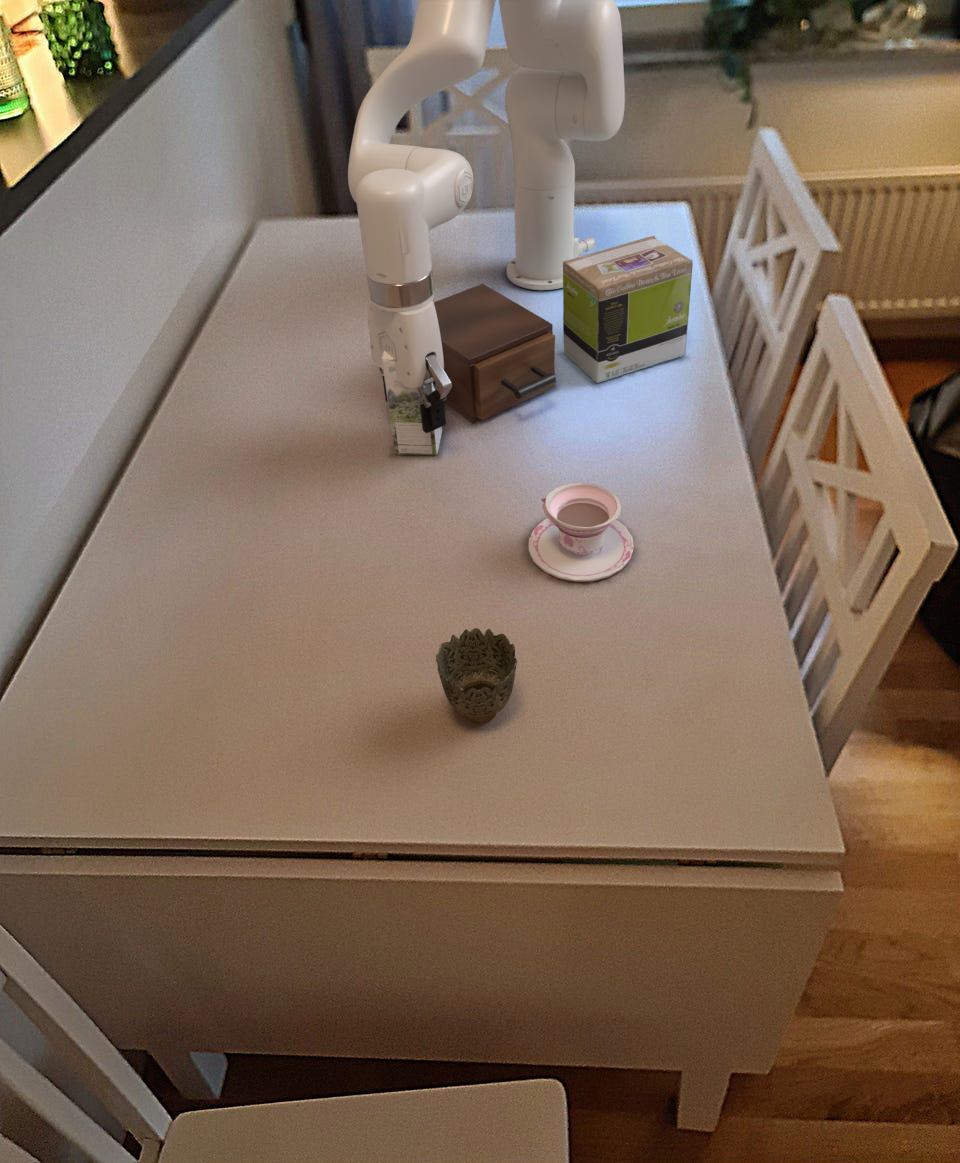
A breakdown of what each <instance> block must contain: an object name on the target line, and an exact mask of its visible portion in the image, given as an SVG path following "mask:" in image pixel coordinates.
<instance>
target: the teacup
mask: <svg viewBox="0 0 960 1163" xmlns="http://www.w3.org/2000/svg"><path fill="white" fill-rule="evenodd" d="M541 502H542V509H543V512H544V515H545V516H546V518H545V519H543V520H542V521H540V522H539V523H538V524H537V525H536V526H535V527H534V528H533V529H532V531H531V533H530V535H529V538H528V554H529V556H530V557H531V559H532V561H533V563H534V564H535V566H537V567H538V568H539V569H541V570H542V571H543V572H544V573H546V574H548V575H550V576H552V577H555V578H557V579H559V580H564V581H569V582H575V583H577V582H596V581H600V580H603V579H606V578H610V577H611V576H614V575H615V574H617V573H619V572H621V571H622V570H623V569H624V568H625V567H627V565H628V563H630V561H631V559H632V556H633V553H634V550H635V546H634V539H633V535H632V534H631V533H630V531H629V529H628V528H627V527H626V526H625V525H624V524H623V523H621V522H620V521H619V520H617V519H618V518H619V517H620V515H621V513H622V502H621V501H620V499H619V498H618V496H617V495H616V494H614V492H612V491H611V490H609V489H607V488H605V487H603V486H600V485H597V484H593V483H587V482H575V483H567V484H563V485H560V486H558V487H556V488H553V490H551V491H550V492H549V493H548V494H547V496H546V497H545V498H541Z"/></svg>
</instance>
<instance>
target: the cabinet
mask: <svg viewBox="0 0 960 1163" xmlns="http://www.w3.org/2000/svg"><path fill="white" fill-rule="evenodd" d="M433 302H434V306H435V310H436V314H437V319H438V324H439V329H440V336H441V342H442V349H443V360H444V371H445V373H446V375H447V376H448V378H449V379H450V381H451V383H452V388H451V390H450V392H449V396H448V397H446V400H444V404H446V405H447V406H448V407H450V408H451V409H452V410H453V411H455V412H457V414H459V415H460V416H462V417H463V418H465V419H466V420H467V421H468V422H470V424H476V423H478V422H480V421H482V420H481V419H479V418H478V417H477V416H476V401H475V385H474V369H473V365H474V363H476V362H479V361H481V360H484V359H486V358H488V357H491V356H493V355H495V354H498V353H500V352H502V351H505V350H507V349H509V348H512V347H514V346H516V345H519V344H521V343H523V342H526V341H528V340H530V339H533V338H535V337H537V336H538V337H540V336H542V335H544V334H547V333H549V332H550V333H551V334H553V333H554V331H553V330H554V329H553V328H554V327H553V326H554V325H553V323H551V322H550V321H548V320H546V319H544V318H543V317H541V316H539V315H537V314H536V313H534V312H533V311H531V310H529V309H527V308H526V307H525V306H522V305H520V304H519V303H517V302H515V301H513V300H512V299H510V298H508V297H507V296H505V295H503V294H502V293H500V292H499V291H496V290H495V289H493V288H491V287H490V286H488V285H486V284H485V283H480V284H478V285H475V286H472V287H470V288H466V289H464V290H462V291H460V292H457V293H454V294H451V295H449V296H447V297H444V298H441V299H439V300H436V301H433ZM553 335H554V334H553Z"/></svg>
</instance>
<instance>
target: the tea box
mask: <svg viewBox="0 0 960 1163" xmlns="http://www.w3.org/2000/svg"><path fill="white" fill-rule="evenodd" d="M693 264H694V262H693V259H691V258H689V257H688V256H685V255H684V254H682V253H681V252H680V251H678V250H676V249H674V248H673V247H672V246H670V245H668V244H667V243H665V242H663V241H662V240H660V239H659V238H657V237H655V235H651V236H647V237H644V238H641V239H637V240H633V241H630V242H626V243H623V244H620V245H615V246H612V247H609V248H605V249H601V250H599V251H594V252H591V253H588V254H584V255H581V256H579V257H577V258H575V259H571V260H566V261H564V262H563V288H562V293H563V294H562V307H563V308H562V309H563V310H562V311H563V312H562V313H563V315H562V323H563V324H562V330H563V331H562V332H563V333H562V334H563V337H562V338H563V353H564V354H565V356H566V357H567V358H568V359H569V360H570V361H571V362H572V363H573V364H575V366H577V367H578V368H579V369H580V370H581V371H583V373H585V375H587V376H588V377H589V378H590V379H592V381H594V382H595V383H596V384H599V383H602V382H605V381H608V380H612V379H615V378H619V377H620V376H624V375H627V374H630V373H634V372H636V371H639V370H643V369H646V368H649V367H652V366H655V365H659V364H662V363H665V362H668V361H670V360H674V359H678V358H680V357H684V356H685V355H686V351H687V350H686V348H687V339H688V325H689V316H690V303H691V290H692V277H693Z"/></svg>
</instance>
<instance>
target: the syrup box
mask: <svg viewBox="0 0 960 1163" xmlns="http://www.w3.org/2000/svg"><path fill="white" fill-rule="evenodd" d="M393 359H394V358H393V357H391V356H390V355H389V354H388V353H387V352H386V351H384V352H383V356H382V365H383V372H384V374H383V376H384V379H385V386H386V393H387V400H388V403H387V406H388V415H389V420H390V428H391V436H392V441H393V450H394V454H395V455H396V456H398V455H399V456H437V455H438V453H439V448H440V443H441V439H442V434H443V426H442V427H440V428H438V429H435V430H433V431H431V432H429V433H425V432H424V431H423V428H422V419H421V410H420V405H421V404H423V402H422V399H421V397H420V394H419V392H418V390H417V389H414V390H412V389H409V388H407V387H406V386H404V385H403V384H401V383H400V382H398V381H397V376H396V369H395V362H396V361H394V360H393ZM430 377H431V375H430V373H429V371H428V370H427V368H426V374H425V378H424V380H425V379H428V378H430ZM425 388H426V390H427V393H428V395H430V394H431V393H432V392H433V391H435V388H434V386H433V383H432V382H431V383H429V384H427V385H425Z"/></svg>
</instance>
